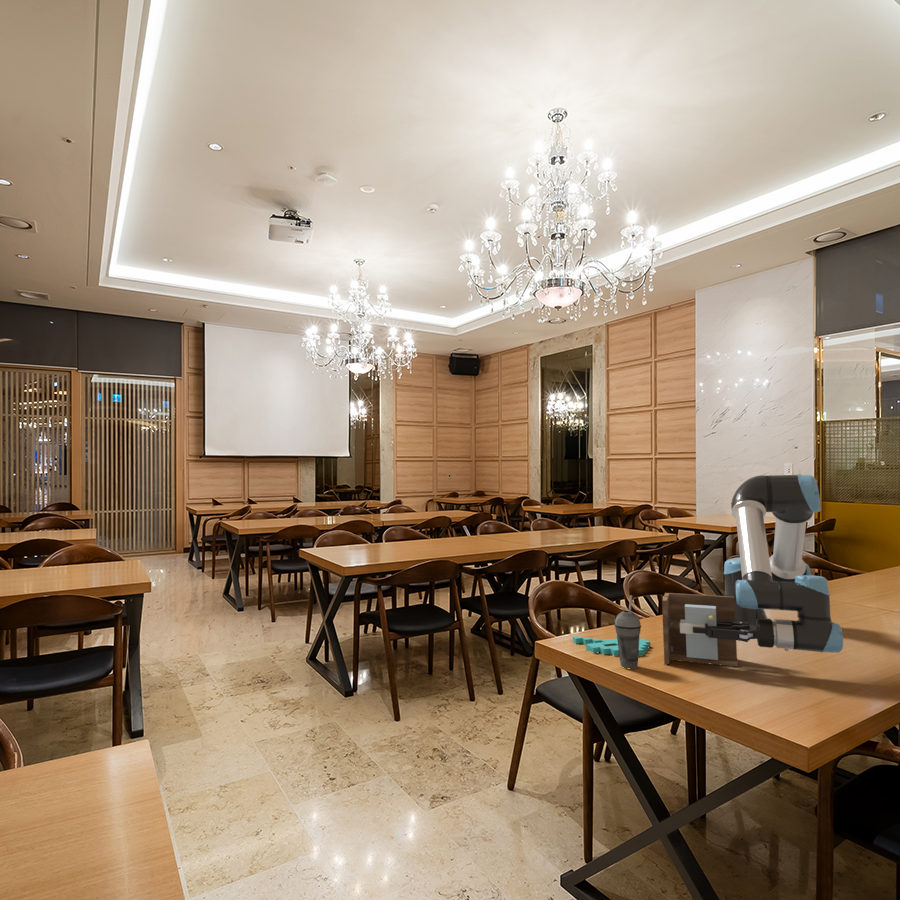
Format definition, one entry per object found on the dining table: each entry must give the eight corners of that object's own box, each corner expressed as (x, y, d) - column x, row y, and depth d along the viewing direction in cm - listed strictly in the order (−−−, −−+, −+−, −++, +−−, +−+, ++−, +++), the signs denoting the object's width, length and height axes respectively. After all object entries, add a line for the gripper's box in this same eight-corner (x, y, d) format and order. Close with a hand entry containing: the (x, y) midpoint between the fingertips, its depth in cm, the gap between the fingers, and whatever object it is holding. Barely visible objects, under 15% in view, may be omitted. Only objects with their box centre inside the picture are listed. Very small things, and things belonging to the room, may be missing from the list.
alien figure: (572, 643, 191) (604, 661, 172) (572, 636, 191) (604, 653, 172) (626, 638, 196) (663, 655, 177) (626, 631, 197) (663, 647, 177)
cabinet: (667, 652, 178) (665, 592, 179) (736, 659, 170) (734, 596, 171) (664, 664, 167) (662, 600, 168) (738, 672, 159) (735, 605, 160)
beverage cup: (617, 661, 170) (614, 592, 171) (643, 664, 167) (640, 593, 168) (614, 669, 163) (612, 597, 164) (641, 672, 160) (639, 598, 162)
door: (687, 653, 168) (685, 604, 169) (717, 656, 165) (715, 606, 165) (686, 658, 163) (684, 607, 164) (718, 661, 160) (715, 609, 161)
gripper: (777, 656, 150) (679, 647, 159) (771, 639, 165) (682, 632, 175) (776, 626, 150) (678, 619, 160) (770, 612, 166) (681, 607, 175)
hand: (680, 626), depth 167 cm, fingers closed on door, 3 cm apart
